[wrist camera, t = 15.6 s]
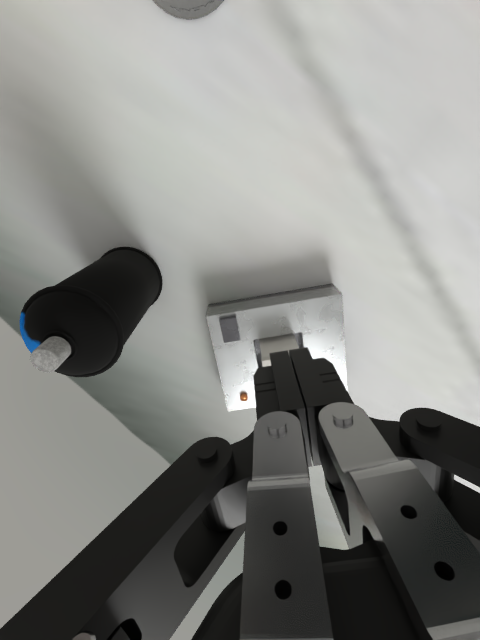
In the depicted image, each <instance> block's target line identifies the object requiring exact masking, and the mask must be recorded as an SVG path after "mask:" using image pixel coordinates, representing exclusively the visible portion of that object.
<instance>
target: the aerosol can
mask: <svg viewBox="0 0 480 640" xmlns="http://www.w3.org/2000/svg"><path fill="white" fill-rule="evenodd" d="M161 290H162V276H161V273H160V270H159V268H158V266H157V264H156V263H155V262H154V260H153V259H152V258H151V257H149V256H148V255H147V254H146V253H144V252H142V251H140V250H138V249H135V248H130V247H119V248H114V249H112V250H110V251H108V252H107V253H105V254H104V255H103V256H102V257H101V258H100V259H99V260H97V261H96V262H94V263H92V264H91V265H89V266H87V267H86V268H84V269H82V270H80V271H79V272H77V273H75V274H74V275H72V276H70V277H69V278H67V279H65V280H64V281H62V282H60V283H59V284H57V285H55V286H51V287H47V288H44V289H42V290H40V291H38V292H36V293H35V294H34V295H32V296H31V297H30V298H29V300H28V301H27V302H26V303H25V305H24V307H23V309H22V312H21V316H20V331H21V335H22V338H23V340H24V342H25V344H26V346H27V348H28V349H29V351H30V352H31V356H30V358H31V362H32V364H33V365H34V366H35V367H36V368H37V369H38V370H40V371H43V372H53V371H55V372H57V373H61V374H64V375H67V376H73V377H89V376H95V375H97V374H100V373H103V372H104V371H106V370H108V369H109V368H111V367H112V366H113V365H114V364H115V363H116V362H117V360H118V358H119V357H120V355H121V352H122V349H123V345H124V344H125V342H126V341H127V339H128V338H129V337H130V335H131V334H132V332H133V331H134V329H135V328H136V326H137V325H138V323H139V322H140V320H141V319H142V317H143V316H144V314H145V313H146V311H147V310H148V308H149V307H150V306H151V305H152V304H153V303H154V302H155V301H156V300H157V299H158V297H159V295H160V293H161Z"/></svg>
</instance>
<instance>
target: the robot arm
mask: <svg viewBox="0 0 480 640" xmlns="http://www.w3.org/2000/svg"><path fill="white" fill-rule="evenodd" d="M153 1H154V2H155V3H156V4H157V6H159V7H160V8H161V9H163V10H164V11H165V12H166V13H168V14H170V15H173V16H175V17H177V18H182V19H198V18H200V17H203V16H206V15H208V14H209V13H211V12H212V11H214V10H215V9H216V8H217V7H218V6H219V5H220V4H221V3H222V2H223V1H224V0H153ZM269 355H270V361H271V366H265V367H259V368H258V369H257V370H256V372H255V374H254V376H253V378H254V390H255V401H256V413H257V422H256V423H255V426H254V431H253V432H252V433H251V434H250V435H249V436H248V437H246V438H245V439H243V440H241V441H239V442H236V443H234V444H231V445H230V444H229V442H228V441H226V440H225V439H223V438H219V437H208V438H204V439H201V440H199V441H197V442H196V443H194V444H193V445H192V446H191V447H190V448H188V449H187V450H186V451H185V452H184V453H183V454H182V455H181V456H180V457H179V458H178V459H177V460H176V461H175V462H174V463H173V464H172V465H171V466H170V467H169V468H168V469H167V470H166V471H165V472H163V473H162V474H161V475H160V476H159V477H158V478H157V479H156V480H155V481H154V482H153V483H152V484H151V485H150V486H149V487H148V488H147V489H146V490H145V491H144V492H143V493H142V494H141V495H139V496H138V497H137V498H136V499H135V500H134V501H133V502H132V503H131V504H130V505H129V506H128V507H127V508H126V509H125V510H124V511H123V512H122V513H121V514H120V515H119V516H118V517H117V518H116V519H115V520H114V521H112V522H111V523H110V524H109V525H108V526H107V527H106V528H105V529H104V530H103V531H102V532H101V533H100V534H99V535H98V536H97V537H96V538H95V539H94V540H93V541H92V542H90V543H89V544H88V546H86V547H85V548H84V549H83V550H82V551H81V552H80V553H79V554H78V555H77V556H76V557H75V558H74V559H73V560H72V561H71V562H70V563H69V564H68V565H67V566H65V568H63V569H62V570H61V571H60V572H59V573H58V574H57V575H56V576H55V577H54V578H53V579H52V580H51V581H50V582H49V583H48V584H47V585H46V586H45V587H44V588H43V589H41V591H39V592H38V593H37V594H36V595H35V596H34V597H33V598H32V599H31V600H30V601H29V602H28V603H27V604H26V605H25V606H24V607H23V608H22V609H21V610H20V611H19V612H18V613H17V614H15V616H14V617H12V618H11V619H10V620H9V621H8V622H7V623H6V624H5V625H4V626H3V627H2V628H1V629H0V640H169V639H170V638H171V636H172V635H173V634H174V632H175V631H176V629H177V628H178V626H179V625H180V624H181V622H182V621H183V619H184V618H185V616H186V615H187V614H188V612H189V611H190V609H191V608H192V606H193V605H194V603H195V602H196V600H197V599H198V598H199V596H200V595H201V593H202V592H203V590H204V589H205V588H206V586H207V585H208V583H209V582H210V580H211V579H212V577H213V576H214V575H215V573H216V572H217V570H218V569H219V567H220V566H221V565H222V563H223V562H224V560H225V559H226V557H227V556H228V554H229V553H230V552H231V550H232V549H233V547H234V546H235V544H236V543H237V541H238V540H239V539H240V537H241V536H242V534H243V533H244V531H245V542H244V562H243V564H244V565H243V573H241V574H240V575H239V576H238V577H236V578H235V579H234V580H233V581H232V582H231V583H230V584H229V585H228V586H227V587H226V588H225V589H224V590H223V591H222V592H221V594H220V595H219V596H218V598H217V599H216V600H215V602H214V603H213V605H212V607H211V608H210V610H209V611H208V613H207V615H206V616H205V618H204V620H203V621H202V623H201V625H200V626H199V628H198V629H197V631H196V633H195V634H194V636H193V638H192V640H480V493H478V492H476V491H475V490H473V489H471V488H469V487H467V486H465V485H463V484H461V483H459V482H457V481H455V480H454V474H455V475H457V476H459V477H461V478H463V479H465V480H467V481H469V482H471V483H473V484H475V485H476V486H478V487H480V427H479V426H476V425H473V424H471V423H468V422H466V421H463V420H461V419H458V418H455V417H453V416H450V415H448V414H445V413H443V412H440V411H437V410H434V409H429V408H414V409H410V410H408V411H406V412H404V413H403V414H402V415H401V417H400V422H398V421H386V420H378V419H374V418H371V417H368V415H367V414H366V412H365V411H364V410H363V409H362V408H360V407H359V406H357V405H355V404H354V403H353V401H352V399H351V397H350V396H349V394H348V392H347V390H346V388H345V386H344V384H343V382H342V380H341V378H340V376H339V374H338V373H337V371H336V369H335V367H334V365H333V363H331V362H330V361H328V360H327V359H325V358H324V357H323V358H316V359H313V358H312V356H311V354H310V351H309V349H308V347H304V348H298V349H292V350H289V353H288V350H286V351H280V352H273V353H269ZM310 453H311V455H310ZM311 457H312V461H313V464H314V466H317V465H322V467H323V471H324V476H325V486H326V489H327V492H328V494H329V497H330V500H331V502H332V505H333V507H334V510H335V513H336V515H337V518H338V520H339V523H340V526H341V528H342V531H343V534H344V536H345V539H346V541H347V544H348V547H349V549H348V550H340V549H333V548H326V547H319V541H318V534H317V528H316V521H315V515H314V508H313V501H312V495H311V488H310V477H309V469H308V467H310V466H312V463H311Z"/></svg>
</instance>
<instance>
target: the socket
mask: <svg viewBox="0 0 480 640" xmlns="http://www.w3.org/2000/svg"><path fill="white" fill-rule="evenodd" d="M206 319H207V323H208V327H209V332H210V336H211V340H212V344H213V349H214V353H215V357H216V362H217V366H218V370H219V374H220V379H221V383H222V387H223V392H224V396H225V400H226V404H227V409H228V411H233V410H240V409H247V408H253V407H256V401H255V390H254V378H253V376H254V374H255V372H256V370H257V369H258V368H259V367H263V366H262V359H261V357H262V356H261V349H260V342H259V339H261V338H267V337H274V336H280V335H286V334H292V333H294V336H295V339H296V341H297V344H298V347H299V348H304V347H308V349H309V351H310V354H311V356H312V358H313V359H316V358H323V357H324V358H325V359H327V360H328V361H330V362H331V363H333V365H334V367H335V369H336V371H337V373H338V374H339V376H340V378H341V380H342V382H343V384H344V386H345V388H346V390H347V374H346V356H345V339H344V321H343V303H342V293H341V292H340V291H339V290H338V289H337V288H336V287H335V286H334V285H333V284H329V285H323V286H317V287H311V288H305V289H299V290H293V291H287V292H281V293H275V294H269V295H263V296H257V297H251V298H246V299H240V300H234V301H228V302H222V303H216V304H210V305H208V310H207V314H206Z"/></svg>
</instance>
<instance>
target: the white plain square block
mask: <svg viewBox="0 0 480 640" xmlns="http://www.w3.org/2000/svg"><path fill="white" fill-rule="evenodd" d="M259 342H260V349H261V356H262V357H261V359H262V366H263V367H265V366H271V361H270V355H269V353H273V352H280V351H286V350H288V353H289V350H292V349H298V348H299V347H298V344H297V341H296V339H295V336H294V333H292V334H286V335H280V336H274V337H267V338H261V339H259Z"/></svg>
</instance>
